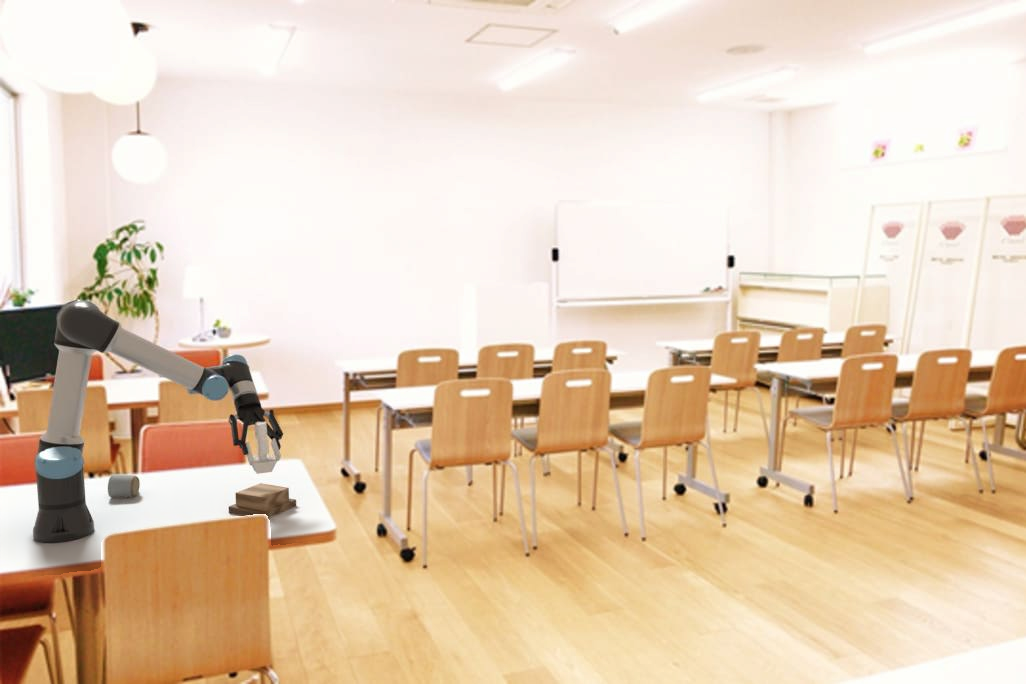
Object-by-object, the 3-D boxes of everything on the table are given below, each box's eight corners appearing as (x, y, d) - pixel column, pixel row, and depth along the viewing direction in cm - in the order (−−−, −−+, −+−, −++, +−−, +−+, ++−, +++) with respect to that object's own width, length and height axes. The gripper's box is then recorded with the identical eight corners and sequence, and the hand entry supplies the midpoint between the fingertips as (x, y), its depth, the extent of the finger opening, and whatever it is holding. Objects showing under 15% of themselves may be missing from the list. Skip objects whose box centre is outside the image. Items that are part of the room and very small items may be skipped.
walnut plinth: (265, 519, 251) (264, 499, 251) (228, 513, 257) (228, 493, 256) (296, 505, 264) (295, 487, 263) (260, 499, 270) (260, 481, 269)
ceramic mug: (133, 499, 269) (132, 477, 269) (107, 500, 269) (106, 477, 268) (144, 490, 279) (143, 468, 279) (119, 491, 279) (118, 469, 278)
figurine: (253, 476, 254) (252, 427, 252) (247, 468, 262) (245, 420, 260) (278, 473, 257) (277, 424, 255) (271, 465, 265) (270, 418, 263)
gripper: (274, 402, 275) (295, 462, 264) (210, 409, 263) (228, 472, 253) (280, 388, 270) (301, 449, 259) (214, 395, 258) (233, 459, 248)
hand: (265, 460), depth 256 cm, fingers closed on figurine, 7 cm apart
